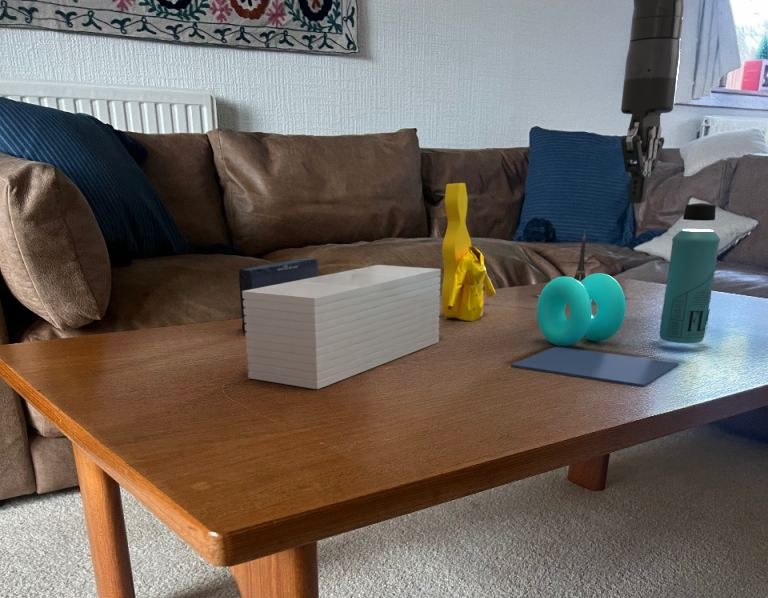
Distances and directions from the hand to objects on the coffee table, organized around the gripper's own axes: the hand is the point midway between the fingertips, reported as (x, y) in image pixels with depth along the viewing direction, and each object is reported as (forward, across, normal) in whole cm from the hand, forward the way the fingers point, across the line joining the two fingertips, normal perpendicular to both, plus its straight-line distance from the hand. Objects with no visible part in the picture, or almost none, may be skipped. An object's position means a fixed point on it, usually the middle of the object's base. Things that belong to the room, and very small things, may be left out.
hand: (636, 202), depth 122 cm
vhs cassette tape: (+19, -32, +47) cm, 60 cm away
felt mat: (+19, -29, -7) cm, 35 cm away
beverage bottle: (+20, -12, -13) cm, 26 cm away
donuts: (+20, -16, +1) cm, 25 cm away
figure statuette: (+19, -8, +26) cm, 34 cm away
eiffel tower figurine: (+20, +23, +17) cm, 35 cm away
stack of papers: (+19, -45, +22) cm, 54 cm away
